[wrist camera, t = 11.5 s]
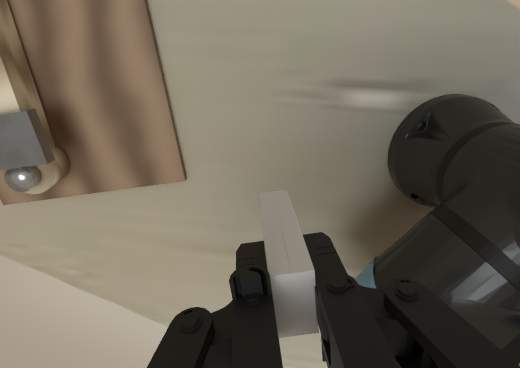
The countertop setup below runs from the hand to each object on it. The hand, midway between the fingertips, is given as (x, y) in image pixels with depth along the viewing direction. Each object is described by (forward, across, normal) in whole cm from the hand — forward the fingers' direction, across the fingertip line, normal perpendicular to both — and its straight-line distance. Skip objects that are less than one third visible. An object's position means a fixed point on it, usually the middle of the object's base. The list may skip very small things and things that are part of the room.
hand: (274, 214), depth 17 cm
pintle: (+21, +26, +2) cm, 33 cm away
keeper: (+25, +28, -2) cm, 38 cm away
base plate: (+26, +22, -8) cm, 35 cm away
